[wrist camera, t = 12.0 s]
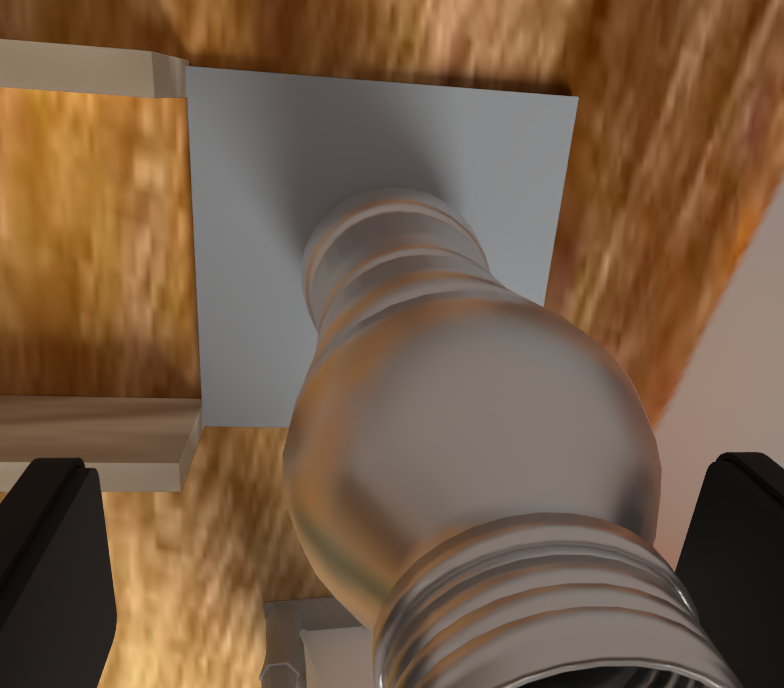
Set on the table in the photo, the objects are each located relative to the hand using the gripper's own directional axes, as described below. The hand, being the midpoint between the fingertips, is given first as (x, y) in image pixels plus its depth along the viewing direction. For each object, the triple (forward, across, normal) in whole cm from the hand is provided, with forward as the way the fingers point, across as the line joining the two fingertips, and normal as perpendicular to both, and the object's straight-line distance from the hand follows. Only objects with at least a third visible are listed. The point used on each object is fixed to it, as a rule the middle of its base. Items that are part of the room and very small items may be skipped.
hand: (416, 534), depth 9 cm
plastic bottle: (+16, -2, 0) cm, 16 cm away
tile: (+17, -1, 0) cm, 17 cm away
